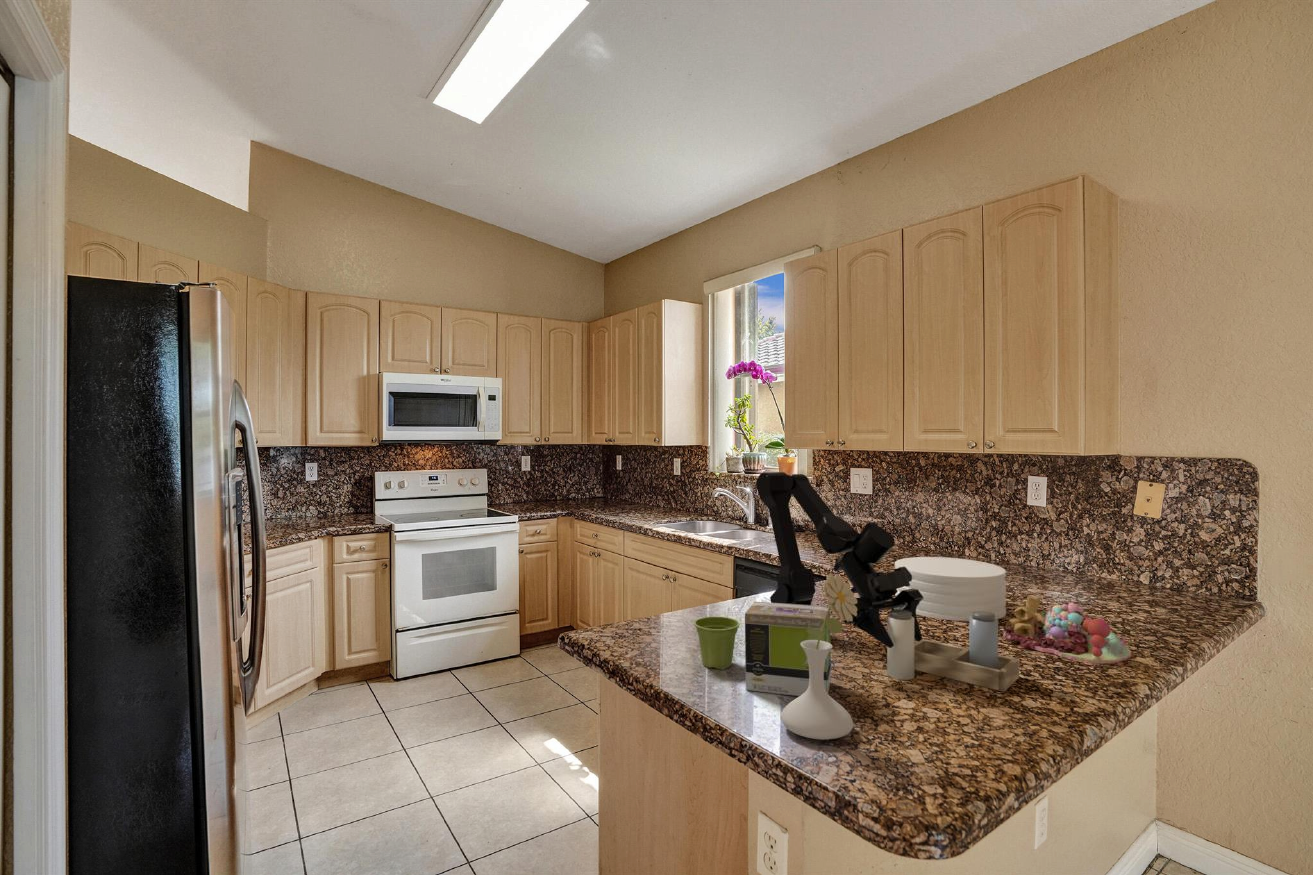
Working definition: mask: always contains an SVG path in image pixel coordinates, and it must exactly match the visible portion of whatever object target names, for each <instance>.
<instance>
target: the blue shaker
mask: <svg viewBox="0 0 1313 875" xmlns="http://www.w3.org/2000/svg"><path fill="white" fill-rule="evenodd" d="M968 622H969V625H968V627H969V628H968V629H969V631H968V634H969V636H968V637H969V639H968V641H969V643H968V646H969V648H968V649H969V663H971V664H975V665H980V666H984V667H988V668H993V669H997V670H998V655H999V619H995V614H993V613H990V612H984V611H974V612H972V616H970V617H969V621H968Z"/></svg>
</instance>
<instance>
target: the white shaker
mask: <svg viewBox="0 0 1313 875" xmlns="http://www.w3.org/2000/svg"><path fill="white" fill-rule="evenodd" d="M886 618H887V619H886V620H887V621H886V623H887V624H886V627H887V628H886V631H887V633H888V634H889V636H890V638H891V640H892V642H893V644H894V646H893V647H892V648H889V647H887V646H886V648H887V649H886V650H887V653H886V655H887V656H886V658H887V659H886V660H887V662H886V663H887V673H886V674H887V676H888V677H890V678H892V679H895V680H900V681H909V680H910V681H911V680H913V679H914V678H915V670H914V643H915V638H914V617H912V613H911V612H910V611H906V610H899V609H895V610H891V609H889V614H888V615H887V616H886Z"/></svg>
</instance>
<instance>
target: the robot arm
mask: <svg viewBox="0 0 1313 875" xmlns="http://www.w3.org/2000/svg"><path fill="white" fill-rule="evenodd" d="M755 486H756V490H757V493H758V495H759V499H760V501H761V502H762V503H763V504H764V506H766V508H767V509H768V511H769V517H770V521H771V526H772V530H773V536H774V540H775V545H776V550H777V554H778V559H779V563H780V567H779V568H780V569H779V572H778V575H777V578H776V581H777V588H776V590H775V591H774V592H773V593H772V594H771V595H770V597H769V600H770V603H784V604H798V605H812V602H813V599H814V595H815V594H816V586H817V583H816V582H815V579H814V571H813V570H812V568H807V567H806V566H805V565H804V564H803V562H802V561H801V560H802V559H801V555H800V550H799V546H798V541H797V538H796V532H795V528H794V523H793V518H792V514H791V510H790V501H791V500H792V499H791V498H792V496H793V498H794V500H796V502H797V503H798V504H799V506H800V507H801V509H802V510H803V511H804V513H805V514H806V515H807V517H808V518H809V520H810V521H811V522H812V523H813V525H814V526H815V528H816V529H815V531H816V538H817V540H818V542H819V543H820V545H821V547H822V549H823V551H824V552H825V553H826V554H829V555H836V554H842V556H841V557H836V558H835V560H834V561H835V563H834V566H833V571H834V572H840V571H843V572H844V574H845V576H846V578H848V580H849V582H850V584H851V585H852V587H851V588H850V590H851V592H853V594H854V595H855V594H857V595H858V597H855V598H856V599H857V604H854V605H855V606H856V607H857V616H854V615H853V614H851V615H852V617H853V621H850V620H849V622H848V621H846V620H845V621H843V623H844V625H845V626H848V625H852V626H853V627H854V628H858V629H860V630H861V631H863V632H864V633H866V634H868V635H869V636H871V637H873V638H874V639H876V640H877V641H879V642H880V643H881V644H883V645H884V646H886V648H887V647H889V648H892V647H893V646H894V644H893V642H892V640H891V638H890V636H889V634H888V633H887V628H885V626H884V624H883V622H882V621H881V619H880V611H886V610H887V611H888V610H895V609H899V610H906V611H910V612H911V613H912V617H914V640H916V642H917V641H918V642H919V641H921V640H922V639H923V635H922V633H921V632H922V631H921V629H920V624H919V621H918V617H917V614H916V608H917V606H918V605H919V602H920V601H921V600H923V599H924V598H923V596H922V595H921V593H920V592H919V590H917V589H907V590H902V591H901V592H900V593H899V594H898V595H897V596H894V595H895V594H896V593H897V592H898V591H897V589H898V588H901V587H904V586H906V587H907V586H910V583H909V582H910V581H912V575H911V574H910V572H909V571H908V569H907V568H906V567H899V568H897V569H895V568H893V571H891V572H887V573H884V572H882V571H876V569H875V568H874V566H873V565H876V564H878V563H879V562H881V560H883V558H884V557H885V556H886V555H887V554H888V552H890V551H891V550H892V549H893V548H894V546H895V544H896V541H895V538H894V535H892V534H891V533H892V532H888V530H886V529H885V528H884V527H881V526H878V525H877V523H876V522H867V523H866V524H865V525H864V527H863V528H862V530H861V531H860V532H857V530H856V529H855V528H854V527H853V526H851V524H850V523H849V522H847V521H846V520H844V519H843V518H841V517H840V516H837V515H836V514H834V513H833V512H832V509H831V508H830V507H829V506H828V505H827V503H826V502H825V501H824V500H823V499H822V497H821V496H820V495H819V493H818V492H817V490H816V489H815V488H814V487H813V486H812V484H811V483H810V481H809V477H808V476H807V475H805V474H804V473H796V474H795V473H792V474H791V473H790V474H787V473H786V472H783V471H772V472H771V471H769V472H768V471H767V472H761V473H760V474H759V475H758V477H757V479H756V482H755ZM893 596H894V597H893Z"/></svg>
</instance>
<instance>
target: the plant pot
mask: <svg viewBox="0 0 1313 875" xmlns="http://www.w3.org/2000/svg"><path fill="white" fill-rule="evenodd" d="M693 624H694V627H695V628H696V632H697V634H698V641H699V648H700V657H701V661H702V665H703V666H705V667H706V668H709V669H711V668H715V669H718V670H721V669H727V668H729V667H731V665H732V664H733V658H734V650H735V642H736V641H735V640H736V634H737V632H738V628H739V627H740V625H741V624H740V621H738V620H737V619H736V618H731V617H726V616H705V617H699V618H697V619H695V621H694V622H693Z"/></svg>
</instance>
